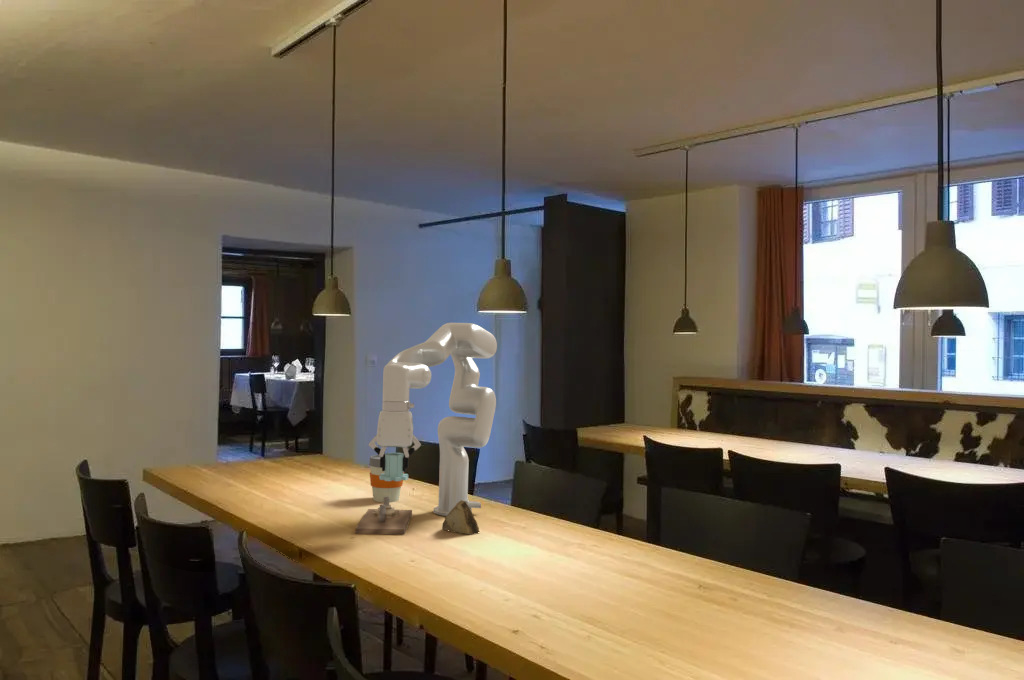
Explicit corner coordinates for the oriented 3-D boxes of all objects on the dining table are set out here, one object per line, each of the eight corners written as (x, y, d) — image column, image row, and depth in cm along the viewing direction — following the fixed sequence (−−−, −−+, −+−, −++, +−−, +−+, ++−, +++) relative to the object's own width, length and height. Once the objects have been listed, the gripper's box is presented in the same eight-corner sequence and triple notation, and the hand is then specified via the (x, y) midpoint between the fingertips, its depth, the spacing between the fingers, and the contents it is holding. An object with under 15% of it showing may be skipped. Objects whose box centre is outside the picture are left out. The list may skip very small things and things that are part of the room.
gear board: (411, 514, 239) (412, 492, 239) (404, 534, 214) (404, 510, 214) (368, 513, 238) (369, 491, 239) (355, 533, 214) (356, 509, 214)
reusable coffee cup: (400, 504, 254) (402, 460, 254) (364, 502, 254) (365, 459, 255) (406, 496, 267) (408, 454, 267) (372, 495, 267) (373, 453, 267)
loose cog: (409, 476, 216) (409, 452, 216) (407, 481, 208) (407, 456, 208) (381, 475, 215) (381, 451, 215) (378, 481, 207) (378, 456, 207)
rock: (431, 522, 220) (449, 525, 212) (445, 497, 224) (463, 499, 216) (457, 541, 224) (475, 544, 216) (470, 516, 228) (489, 518, 220)
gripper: (426, 406, 216) (424, 468, 216) (367, 405, 215) (365, 467, 215) (425, 409, 208) (423, 473, 208) (363, 407, 207) (362, 472, 207)
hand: (394, 469), depth 212 cm, fingers closed on loose cog, 5 cm apart
